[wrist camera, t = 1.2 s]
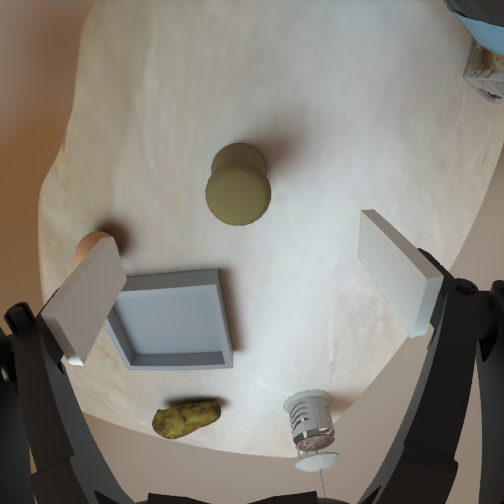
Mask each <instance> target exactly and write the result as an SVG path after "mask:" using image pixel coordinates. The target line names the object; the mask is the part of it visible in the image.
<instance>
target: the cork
mask: <svg viewBox="0 0 504 504" xmlns="http://www.w3.org/2000/svg"><path fill="white" fill-rule="evenodd" d="M211 172H212V175H211V177H210V178H209V180H208V183H207V186H206V190H205V192H206V202H207V204H208V207H209V209H210V211H211V212H212V213H213V214H214V216H215V217H216V218H217V219H219V220H220V221H222V222H223V223H226V224H229V225H233V226H244V225H247V224H250V223H253V222H255V221H256V220H258V219H259V218H261V216H262V215H263V214H264V213H265V211H266V210H267V209H268V206H269V203H270V200H271V187H270V183H269V180H268V178H267V177H266V163H265V160H264V157H263V156H262V155H261V153H260V152H259V151H258V150H257V149H255V148H254V147H252V146H250V145H247V144H244V143H234V144H231V145H228V146H225V147H224V148H223V149H221V150H220V151H219V152H218V153H217V154H216V156H215V157H214V159H213V162H212V166H211Z"/></svg>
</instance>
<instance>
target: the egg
mask: <svg viewBox="0 0 504 504" xmlns="http://www.w3.org/2000/svg"><path fill="white" fill-rule="evenodd" d="M106 237H112V236H110V235H109V234H107V233H105V232H101V231H96V232H92V233H89V234H88V235H86V236H85V237H83V238H82V240H81V241H80V242H79V244H78V246H77V248H76V251H75V266H76V267H77V266H78V265H79V264H80V262H81V261H82V260H83V259H84V258H85V257H86V255H87V254H88V253H89V252H90V251H91V250H92V248H93V247H94V246H95V245H96V244H97V243H98V242H99V241H100V239H101V238H106ZM115 244H116V247H117V250H118V246H117V243H116V241H115ZM118 253H119V250H118Z"/></svg>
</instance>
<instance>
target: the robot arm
mask: <svg viewBox="0 0 504 504" xmlns="http://www.w3.org/2000/svg"><path fill="white" fill-rule="evenodd" d="M443 1H444V2H445V3H446V4H447V8H448V9H449V11H450V12H451V13H452V14H453V15H455V16H456V17H458V19H459V20H460V21H461V22H462V23H463V25H464V26H465V27H466V28H467V30H468V31H469V32H470V33H471V35H472V36H473V37H474V38H475V40H476V41H477V42H478V43H479V44H481V45H482V46H483V47H485V48H486V49H488V50H490V51H492V52H494V53H498V54H500V55H502V56H504V0H443ZM358 258H359V260H360V261H361V263H362V264H363V265H364V267H365V268H366V270H367V271H368V273H369V274H370V276H371V277H372V279H373V280H374V282H375V283H376V285H377V286H378V288H379V289H380V291H381V292H382V294H383V295H384V297H385V298H386V300H387V301H388V303H389V305H390V306H391V308H392V309H393V311H394V312H395V314H396V316H397V317H398V319H399V320H400V322H401V324H402V325H403V327H404V329H405V330H406V332H407V334H408V335H409V337H410V338H413V337H417V336H421V335H425V334H426V332H427V329H428V327H429V324H430V323H431V325H432V326H433V328H434V332H433V335H432V337H431V340H430V342H429V345H428V347H427V349H428V352H427V355H426V358H425V361H424V365H423V368H422V371H421V374H420V377H419V380H418V383H417V386H416V388H415V391H414V394H413V396H412V399H411V402H410V404H409V407H408V409H407V412H406V414H405V416H404V419H403V421H402V424H401V426H400V428H399V430H398V433H397V435H396V437H395V439H394V441H393V443H392V445H391V448H390V450H389V452H388V454H387V455H386V458H385V459H384V462H383V463H382V465H381V467H380V469H379V471H378V473H377V474H376V476H375V478H374V479H373V481H372V483H371V484H370V485H369V487H368V488H367V490H366V491H365V493H364V494H363V496H362V497H361V499H360V500H359V502H358V503H357V504H445V503H446V500H447V498H448V496H449V493H450V491H451V488H452V485H453V482H454V480H455V477H456V474H457V470H458V462H456V461H455V460H454V456H455V452H456V449H457V445H458V442H459V438H460V434H461V431H462V427H463V423H464V419H465V415H466V410H467V406H468V401H469V396H470V390H471V384H472V378H473V371H474V364H475V356H476V363H477V370H478V378H479V387H480V398H481V413H482V467H481V481H480V491H479V504H504V281H502V280H497V281H494V282H493V284H492V287H491V290H490V291H479V290H478V288H477V286H476V285H475V284H473V283H472V282H471V281H468V280H466V279H461V278H457V279H455V278H454V277H453V276H452V275H451V274H450V273H449V272H448V271H447V270H446V269H445V268H444V267H443V266H442V265H440V263H439V262H438V261H437V260H435V258H434V257H433V256H432V255H431V254H430V253H428V252H426V251H424V250H423V249H421V248H417V249H416V248H415V247H414V246H413V245H412V244H411V243H410V242H409V241H408V240H407V239H406V238H405V237H404V236H403V235H402V234H401V233H400V232H398V231H397V230H396V229H395V228H394V227H393V226H392V225H391V224H390V223H389V222H387V221H386V220H385V219H384V218H383V217H382V216H381V215H380V214H378V213H377V212H376V211H375V210H374V209H372V210H361V214H360V232H359V246H358ZM126 281H127V278H126V275H125V272H124V269H123V266H122V263H121V260H120V257H119V253H118V250H117V247H116V244H115V240H114V237H106V238H101V239H100V241H99V242H98V243H97V244H96V245H95V246H94V247H93V248H92V250H91V251H90V252H89V253H88V254H87V255H86V257H85V258H84V259H83V260H82V261H81V262H80V264H79V265H78V266H77V267H76V268H75V270H74V271H73V272H72V273H71V274H70V276H69V277H68V278H67V279H66V281H65V282H64V283H63V284H62V286H61V287H60V288H58V289H57V290H56V291H55V292H54V294H53V295H52V296H51V298H50V299H49V300H48V301H47V304H45V305H44V307H43V308H42V309H41V311H40V312H39V314H38V315H37V316H36V318H35V317H34V315H33V313H32V311H31V309H30V307H29V306H28V304H27V303H26V302H20V303H17V304H15V305H13V306H12V307H11V308H10V309H8V310H7V312H6V313H5V315H4V319H5V321H6V322H7V324H8V326H9V327H10V329H11V331H12V333H13V334H11V335H7V336H6V335H5V333H4V332H3V330H2V328H1V327H0V504H35V499H34V495H35V498H36V500H37V503H38V504H210V503H206V502H202V501H198V500H195V499H191V498H188V497H180V496H169V495H161V494H153V493H149V494H148V500H146V501H141V502H136V503H134V502H133V500H132V499H131V498H130V497H129V496H128V495H127V494H126V493H125V492H124V491H123V490H122V489H121V487H120V486H119V484H118V482H117V481H116V479H115V477H114V476H113V474H112V472H111V470H110V469H109V467H108V465H107V463H106V461H105V460H104V458H103V456H102V454H101V452H100V450H99V448H98V447H97V444H96V442H95V440H94V438H93V436H92V434H91V432H90V430H89V427H88V425H87V423H86V421H85V419H84V416H83V414H82V412H81V409H80V407H79V404H78V402H77V399H76V397H75V394H74V392H73V389H72V386H71V383H70V381H69V378H68V375H67V372H66V369H65V366H64V365H63V363H62V362H61V359H62V357H63V355H65V357H66V358H67V360H68V361H69V363H70V364H75V365H84V364H85V361H86V359H87V357H88V355H89V353H90V351H91V349H92V346H93V344H94V342H95V340H96V338H97V336H98V334H99V332H100V330H101V328H102V326H103V324H104V322H105V320H106V318H107V316H108V314H109V312H110V310H111V309H112V307H113V305H114V303H115V301H116V299H117V297H118V295H119V294H120V292H121V290H122V288H123V286H124V284H125V283H126ZM2 373H3V374H4V375H5V377H6V380H4V378H3V375H2ZM29 445H30V449H31V452H32V456H33V459H34V462H35V465H36V469H37V472H36V473H33V474H31V466H30V453H29ZM33 492H34V493H33ZM249 504H349V503H347V502H344V501H339V500H335V499H330V498H318V497H317V493H316V491H312V492H306V493H299V494H291V495H283V496H273V497H270V498H267V499H263V500H260V501H256V502H253V503H249Z"/></svg>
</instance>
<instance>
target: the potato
mask: <svg viewBox="0 0 504 504" xmlns="http://www.w3.org/2000/svg"><path fill="white" fill-rule="evenodd" d="M220 416H221V408H220V406H219V405H218V404H217V403H214V402H211V401H203V402H201V403H187V404H182V405H179V406H176V407H173V408H169V409H165V410H160V409H159V410H157V413H156V414H155V416H154V419H153V421H152V426H153V429H154V431H155V432H156V433H157V434H159V435H161V436H162V437H164V438H167V439H177V438H180V437H183V436H185V435H188V434H190V433H192V432H193V431H195V430H197V429H199V428H201V427H204V426H207V425H209V424H211V423H213V422H215V421H216V420H218V419H219V418H220Z"/></svg>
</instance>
